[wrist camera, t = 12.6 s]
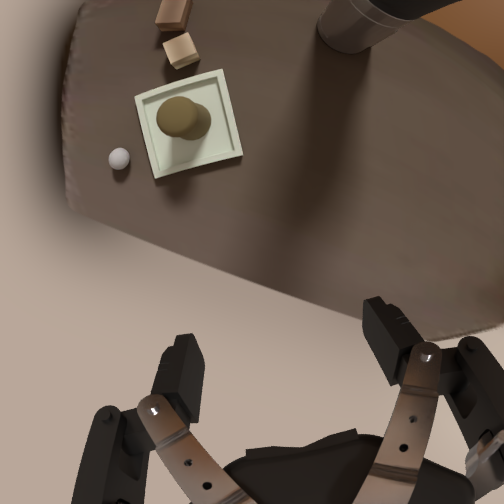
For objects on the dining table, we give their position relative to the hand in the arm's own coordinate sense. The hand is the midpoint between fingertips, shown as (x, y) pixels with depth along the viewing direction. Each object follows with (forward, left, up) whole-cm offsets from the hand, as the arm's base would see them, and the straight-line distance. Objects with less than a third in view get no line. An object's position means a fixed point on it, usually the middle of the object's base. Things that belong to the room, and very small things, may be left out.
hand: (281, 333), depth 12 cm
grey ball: (+19, -11, -31) cm, 38 cm away
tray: (+7, -13, -33) cm, 36 cm away
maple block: (+5, -25, -33) cm, 42 cm away
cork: (+7, -13, -33) cm, 36 cm away
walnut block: (+5, -33, -33) cm, 47 cm away
